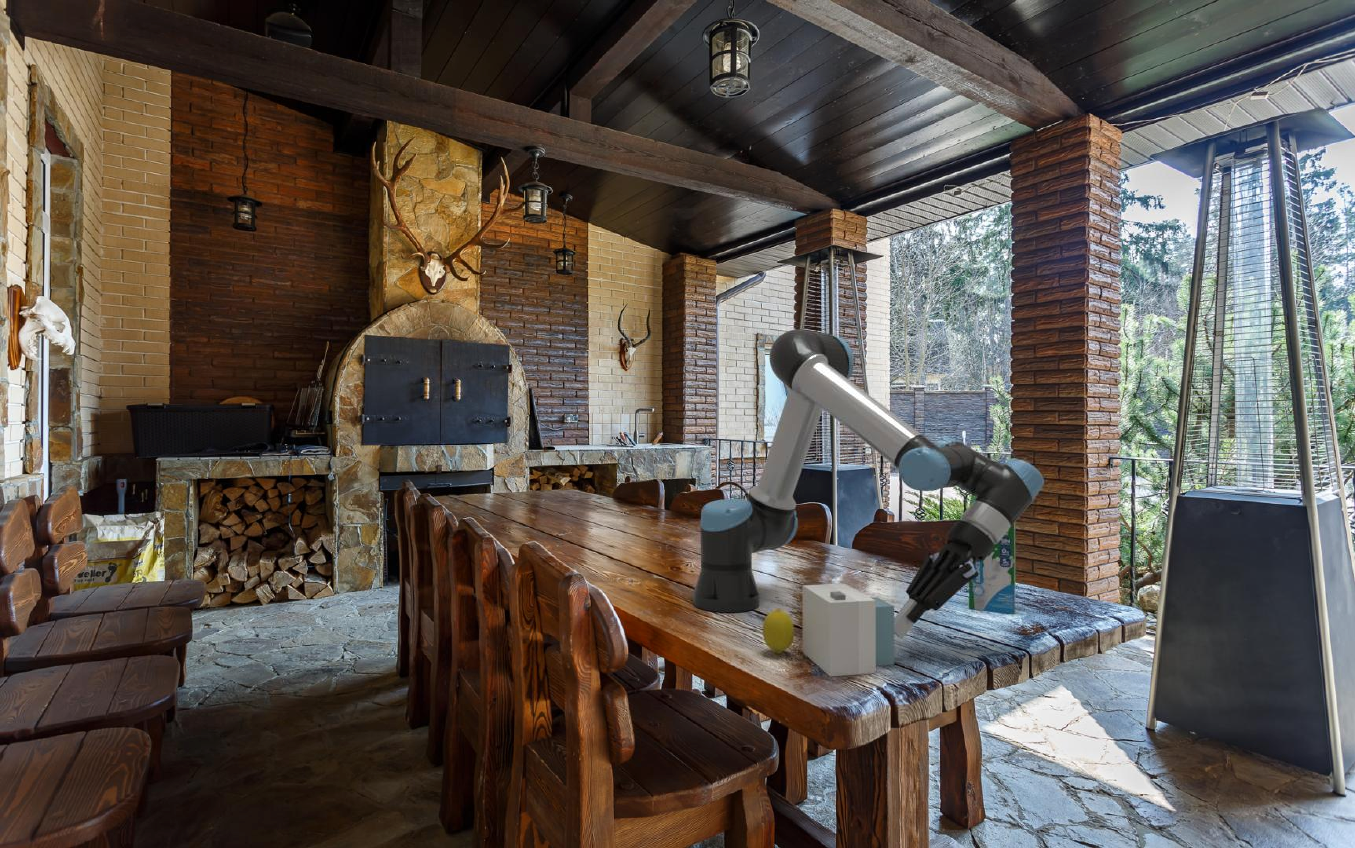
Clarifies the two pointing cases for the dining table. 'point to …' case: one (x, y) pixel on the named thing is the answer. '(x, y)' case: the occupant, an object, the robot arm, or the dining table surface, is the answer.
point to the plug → (884, 632)
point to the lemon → (778, 631)
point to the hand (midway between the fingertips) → (894, 632)
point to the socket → (839, 629)
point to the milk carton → (995, 577)
